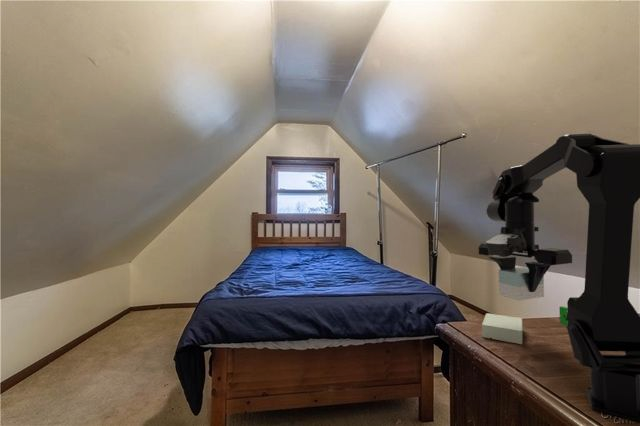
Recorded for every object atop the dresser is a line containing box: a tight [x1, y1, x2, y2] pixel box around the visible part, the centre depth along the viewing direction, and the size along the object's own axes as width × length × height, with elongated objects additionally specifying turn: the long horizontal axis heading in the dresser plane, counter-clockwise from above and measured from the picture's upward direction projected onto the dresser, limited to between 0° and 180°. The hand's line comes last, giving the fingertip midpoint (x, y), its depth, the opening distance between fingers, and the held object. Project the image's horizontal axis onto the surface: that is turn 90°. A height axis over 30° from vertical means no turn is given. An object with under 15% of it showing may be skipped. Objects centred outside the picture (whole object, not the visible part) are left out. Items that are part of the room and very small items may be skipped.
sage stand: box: [481, 313, 523, 345], centre depth 75 cm, size 10×8×3 cm
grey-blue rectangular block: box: [498, 266, 545, 302], centre depth 71 cm, size 5×8×6 cm, turn 110°
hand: (520, 289), depth 71 cm, fingers closed on grey-blue rectangular block, 5 cm apart
